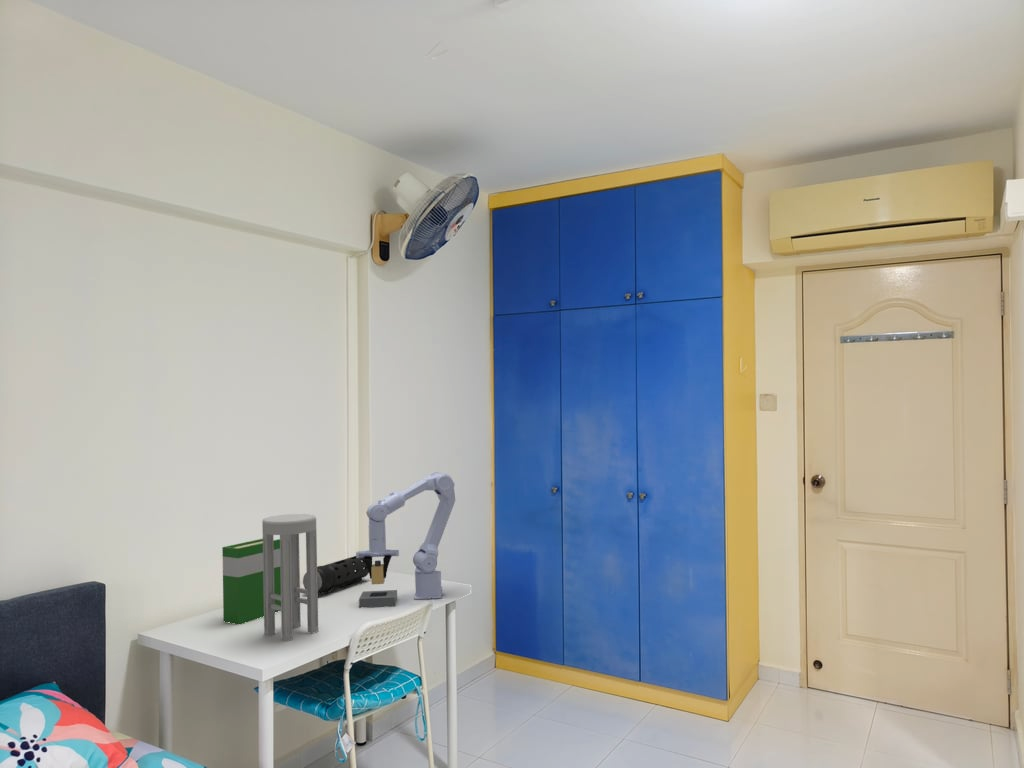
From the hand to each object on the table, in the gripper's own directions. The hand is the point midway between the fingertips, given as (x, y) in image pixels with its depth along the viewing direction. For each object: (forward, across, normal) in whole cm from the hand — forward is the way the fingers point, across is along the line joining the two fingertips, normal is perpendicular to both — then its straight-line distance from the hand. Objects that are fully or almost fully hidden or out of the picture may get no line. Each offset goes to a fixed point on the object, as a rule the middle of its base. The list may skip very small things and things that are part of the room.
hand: (378, 577), depth 254 cm
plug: (+2, 0, 0) cm, 2 cm away
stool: (+9, -23, -30) cm, 39 cm away
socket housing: (+9, 0, 0) cm, 9 cm away
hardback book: (+9, -40, -9) cm, 42 cm away
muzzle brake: (+9, -18, +24) cm, 31 cm away
